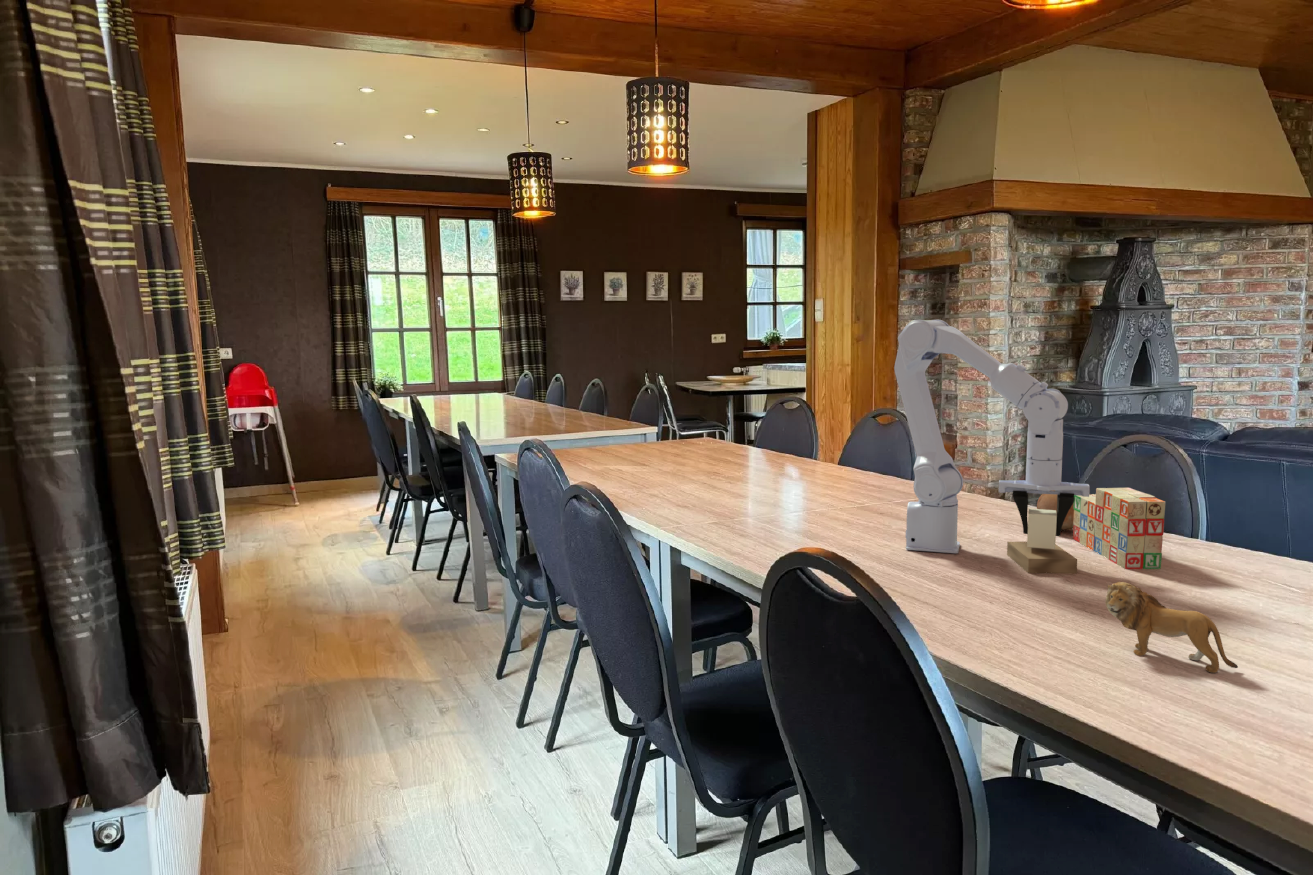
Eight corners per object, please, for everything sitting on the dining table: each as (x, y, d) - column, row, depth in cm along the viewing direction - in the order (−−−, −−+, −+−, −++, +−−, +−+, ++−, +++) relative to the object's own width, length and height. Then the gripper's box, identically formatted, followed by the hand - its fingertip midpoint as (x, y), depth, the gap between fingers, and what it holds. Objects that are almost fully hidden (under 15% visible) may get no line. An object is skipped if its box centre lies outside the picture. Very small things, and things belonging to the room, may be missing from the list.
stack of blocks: (1071, 539, 166) (1074, 479, 164) (1103, 539, 166) (1106, 478, 164) (1125, 570, 145) (1128, 500, 143) (1162, 569, 144) (1166, 500, 143)
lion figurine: (1099, 651, 108) (1102, 584, 107) (1107, 639, 113) (1110, 575, 111) (1235, 678, 99) (1240, 606, 98) (1239, 664, 103) (1244, 594, 102)
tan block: (1027, 575, 144) (1028, 558, 143) (1006, 557, 155) (1007, 541, 155) (1076, 576, 143) (1077, 559, 142) (1051, 557, 155) (1052, 541, 154)
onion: (1078, 526, 177) (1080, 479, 175) (1093, 536, 167) (1095, 487, 166) (1030, 525, 178) (1032, 479, 177) (1043, 535, 169) (1044, 487, 168)
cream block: (1027, 546, 147) (1028, 513, 146) (1027, 540, 151) (1028, 508, 151) (1055, 549, 145) (1056, 515, 145) (1054, 543, 150) (1056, 510, 149)
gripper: (999, 460, 146) (997, 535, 147) (1092, 463, 140) (1089, 542, 142) (999, 454, 152) (997, 527, 154) (1088, 457, 147) (1085, 532, 148)
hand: (1041, 533), depth 148 cm, fingers closed on cream block, 5 cm apart
